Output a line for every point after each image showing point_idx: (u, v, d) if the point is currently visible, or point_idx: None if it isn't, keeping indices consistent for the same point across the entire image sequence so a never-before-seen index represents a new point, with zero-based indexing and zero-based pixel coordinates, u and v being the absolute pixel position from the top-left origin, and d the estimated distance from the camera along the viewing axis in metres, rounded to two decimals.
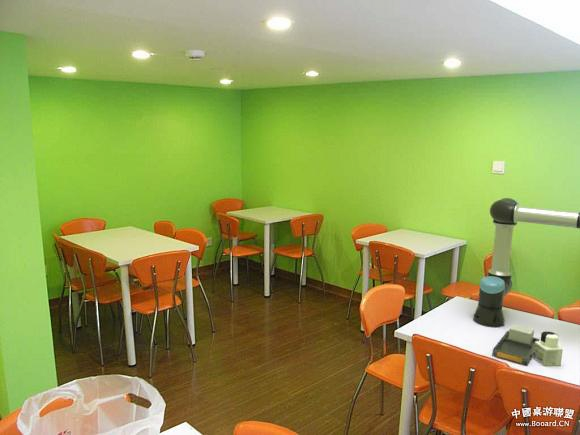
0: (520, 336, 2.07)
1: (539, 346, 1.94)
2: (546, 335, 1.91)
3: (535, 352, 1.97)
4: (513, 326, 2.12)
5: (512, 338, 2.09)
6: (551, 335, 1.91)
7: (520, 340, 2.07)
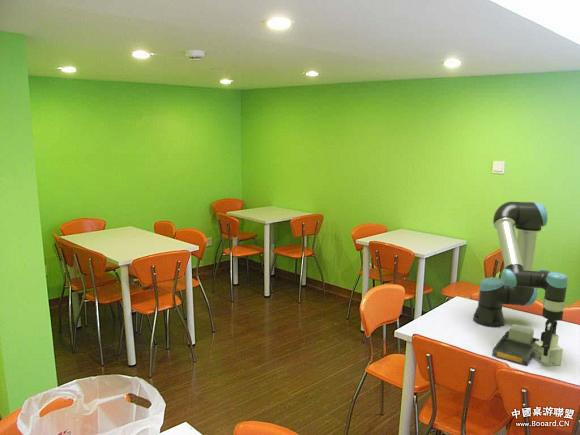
0: (520, 336, 2.07)
1: (539, 346, 1.94)
2: None
3: (535, 352, 1.97)
4: (513, 326, 2.12)
5: (512, 338, 2.09)
6: None
7: (520, 340, 2.07)
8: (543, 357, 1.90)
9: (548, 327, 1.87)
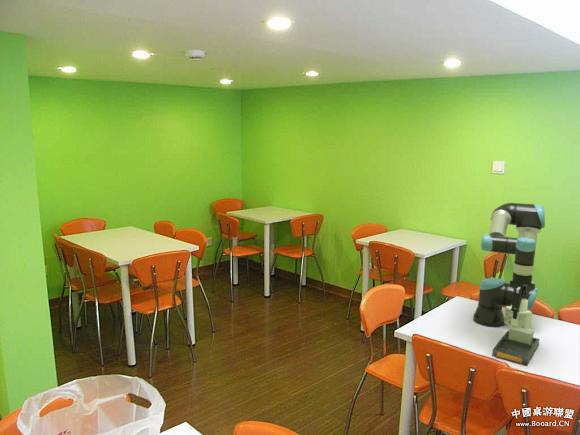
0: (520, 336, 2.07)
1: (509, 310, 1.98)
2: None
3: (505, 317, 2.01)
4: None
5: (512, 338, 2.09)
6: None
7: (520, 340, 2.07)
8: (513, 320, 1.94)
9: (517, 290, 1.91)
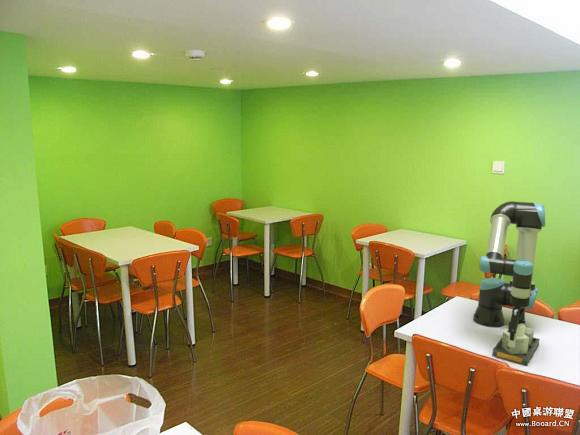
0: None
1: (507, 335, 2.00)
2: None
3: (503, 341, 2.03)
4: None
5: None
6: None
7: None
8: (510, 342, 1.95)
9: (515, 312, 1.92)
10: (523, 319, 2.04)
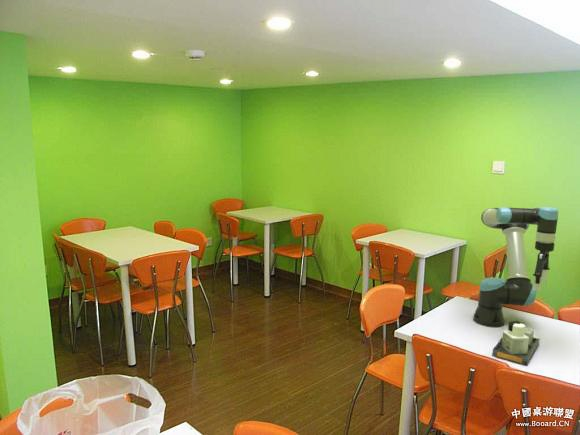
0: None
1: (507, 335, 2.00)
2: (513, 324, 1.98)
3: (503, 341, 2.03)
4: None
5: None
6: (517, 324, 1.97)
7: None
8: (535, 285, 2.00)
9: (540, 256, 1.98)
10: (547, 266, 2.09)
